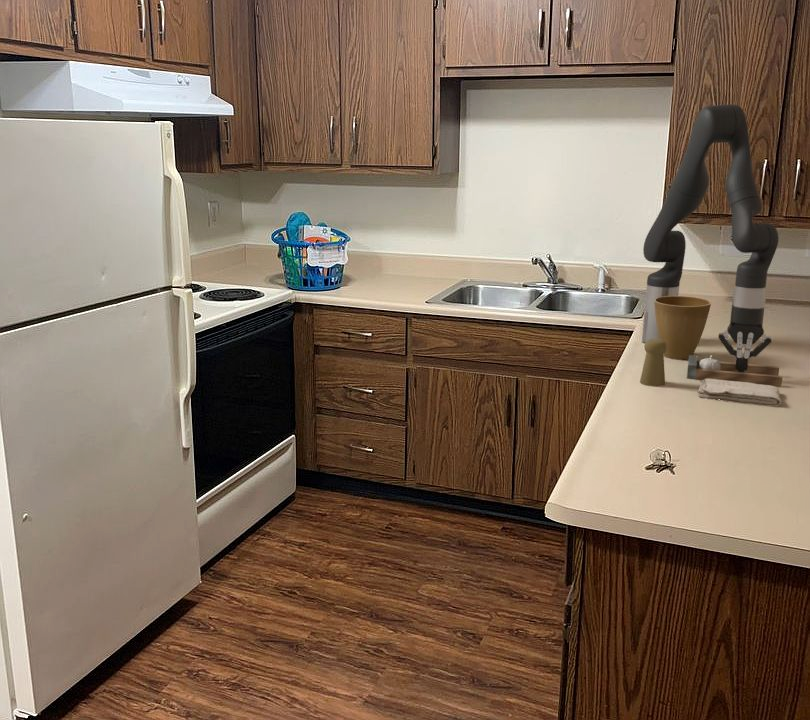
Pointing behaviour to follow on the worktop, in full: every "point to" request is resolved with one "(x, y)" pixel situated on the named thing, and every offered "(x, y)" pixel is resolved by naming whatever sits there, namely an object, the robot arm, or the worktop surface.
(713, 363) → the garlic
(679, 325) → the plant pot
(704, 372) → the guide track
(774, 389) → the washcloth
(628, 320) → the worktop surface
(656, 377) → the olive green shaker
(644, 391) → the worktop surface
